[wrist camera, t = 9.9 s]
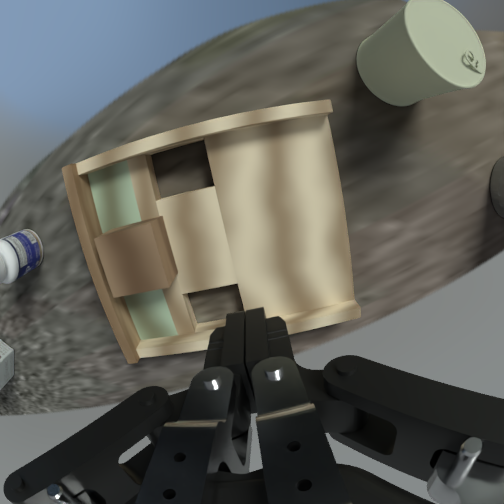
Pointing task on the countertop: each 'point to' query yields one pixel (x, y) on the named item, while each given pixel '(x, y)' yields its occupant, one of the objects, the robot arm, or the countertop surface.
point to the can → (421, 54)
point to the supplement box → (6, 363)
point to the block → (137, 257)
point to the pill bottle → (19, 255)
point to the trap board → (226, 226)
